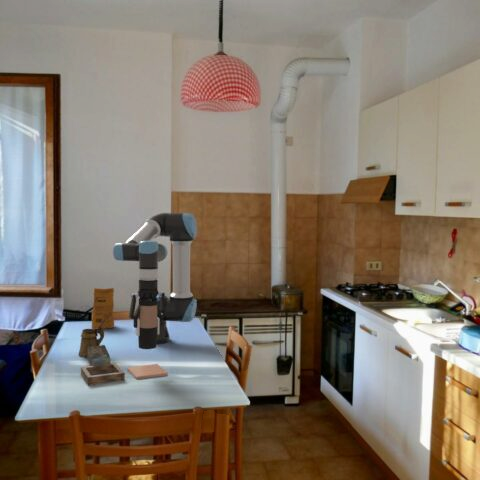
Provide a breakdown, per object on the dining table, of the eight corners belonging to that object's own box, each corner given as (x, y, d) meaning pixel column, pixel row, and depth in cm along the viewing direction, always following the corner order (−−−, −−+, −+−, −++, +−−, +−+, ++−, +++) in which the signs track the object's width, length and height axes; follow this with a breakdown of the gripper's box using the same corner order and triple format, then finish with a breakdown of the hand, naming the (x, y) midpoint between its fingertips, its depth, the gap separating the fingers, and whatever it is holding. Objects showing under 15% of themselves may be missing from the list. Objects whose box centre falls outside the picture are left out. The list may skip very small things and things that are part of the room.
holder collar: (115, 370, 220) (115, 363, 219) (124, 380, 207) (124, 372, 207) (80, 374, 213) (80, 367, 213) (88, 385, 201) (88, 377, 201)
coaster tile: (157, 366, 226) (157, 363, 226) (167, 375, 215) (167, 372, 215) (127, 369, 220) (127, 367, 220) (136, 379, 209) (136, 376, 209)
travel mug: (138, 344, 220) (139, 296, 219) (157, 344, 221) (158, 297, 220) (136, 349, 213) (137, 300, 212) (156, 349, 213) (156, 300, 212)
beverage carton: (90, 372, 217) (91, 356, 216) (86, 359, 234) (86, 345, 234) (110, 371, 219) (111, 355, 219) (105, 358, 237) (105, 343, 237)
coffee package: (92, 325, 300) (92, 286, 298) (115, 325, 301) (115, 286, 300) (89, 329, 290) (90, 289, 289) (113, 329, 291) (113, 289, 290)
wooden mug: (107, 357, 238) (107, 317, 237) (76, 357, 237) (76, 317, 236) (110, 351, 247) (111, 313, 246) (81, 351, 246) (81, 313, 245)
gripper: (169, 276, 223) (168, 330, 225) (120, 278, 214) (120, 334, 215) (175, 279, 217) (174, 334, 218) (125, 281, 207) (125, 339, 209)
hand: (147, 334), depth 217 cm, fingers closed on travel mug, 8 cm apart
